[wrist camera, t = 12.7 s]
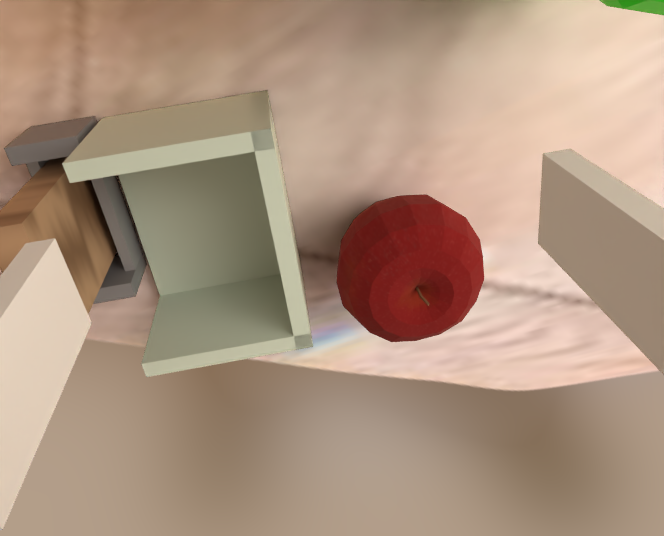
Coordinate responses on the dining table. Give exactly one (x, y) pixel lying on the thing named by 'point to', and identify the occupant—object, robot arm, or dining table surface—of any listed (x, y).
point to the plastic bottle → (638, 5)
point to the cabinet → (192, 224)
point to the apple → (409, 268)
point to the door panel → (60, 226)
